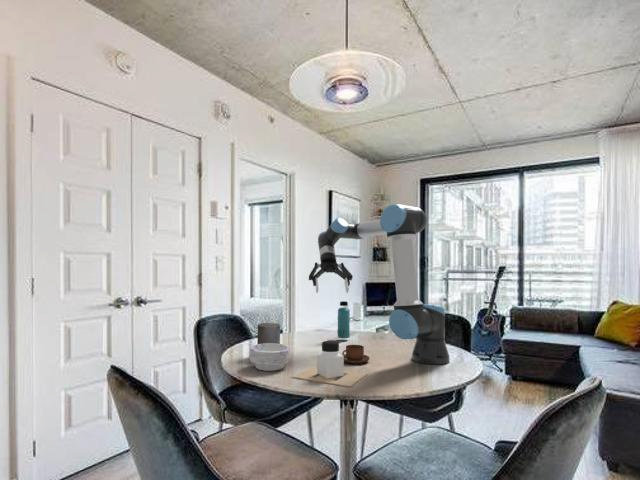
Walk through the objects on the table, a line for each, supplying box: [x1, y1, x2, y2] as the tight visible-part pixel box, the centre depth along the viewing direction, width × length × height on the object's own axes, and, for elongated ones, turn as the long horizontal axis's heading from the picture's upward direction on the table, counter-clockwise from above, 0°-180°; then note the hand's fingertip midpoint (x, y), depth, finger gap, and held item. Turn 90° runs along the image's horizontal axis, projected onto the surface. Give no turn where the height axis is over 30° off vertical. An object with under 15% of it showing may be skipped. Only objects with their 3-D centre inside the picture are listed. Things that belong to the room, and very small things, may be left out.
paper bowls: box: [249, 343, 291, 372], centre depth 151 cm, size 15×15×8 cm
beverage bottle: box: [336, 300, 351, 339], centre depth 205 cm, size 6×7×20 cm
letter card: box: [291, 365, 368, 388], centre depth 140 cm, size 22×16×1 cm
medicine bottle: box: [316, 339, 345, 379], centre depth 141 cm, size 7×7×12 cm
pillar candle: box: [256, 322, 281, 345], centre depth 168 cm, size 10×10×15 cm
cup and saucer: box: [341, 344, 370, 364], centre depth 162 cm, size 12×12×6 cm
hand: (332, 290), depth 175 cm, fingers open, 13 cm apart
